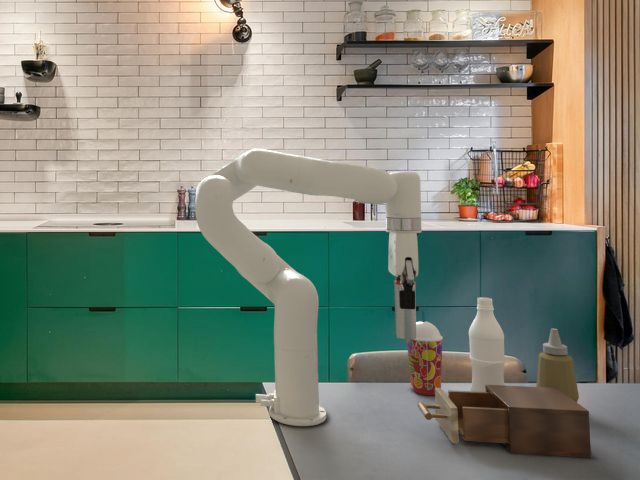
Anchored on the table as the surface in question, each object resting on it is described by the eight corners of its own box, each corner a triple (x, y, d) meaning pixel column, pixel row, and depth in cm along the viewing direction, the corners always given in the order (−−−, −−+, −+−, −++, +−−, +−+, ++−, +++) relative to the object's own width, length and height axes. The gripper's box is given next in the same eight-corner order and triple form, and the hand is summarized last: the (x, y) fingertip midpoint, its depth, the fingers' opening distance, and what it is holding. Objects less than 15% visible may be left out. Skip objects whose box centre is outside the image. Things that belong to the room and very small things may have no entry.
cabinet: (511, 452, 107) (509, 406, 107) (486, 425, 119) (484, 384, 120) (591, 457, 104) (588, 410, 105) (557, 429, 117) (555, 387, 117)
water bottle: (512, 416, 124) (508, 302, 125) (477, 414, 125) (473, 301, 126) (500, 404, 131) (496, 296, 132) (466, 402, 132) (462, 295, 133)
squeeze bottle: (575, 405, 129) (571, 326, 130) (584, 418, 122) (580, 334, 123) (533, 400, 133) (530, 323, 133) (539, 413, 125) (536, 331, 126)
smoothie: (403, 385, 145) (401, 306, 146) (438, 386, 144) (435, 307, 144) (413, 396, 136) (410, 313, 137) (449, 398, 135) (446, 314, 136)
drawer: (429, 441, 110) (427, 406, 111) (415, 418, 121) (413, 386, 122) (522, 447, 107) (521, 411, 107) (499, 423, 118) (498, 390, 119)
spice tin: (397, 339, 125) (395, 283, 126) (393, 334, 130) (392, 280, 130) (419, 340, 124) (417, 283, 125) (414, 335, 129) (413, 280, 129)
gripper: (379, 223, 137) (381, 299, 136) (392, 227, 121) (394, 313, 120) (412, 223, 136) (414, 300, 135) (430, 228, 119) (432, 315, 118)
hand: (405, 305), depth 127 cm, fingers closed on spice tin, 4 cm apart
